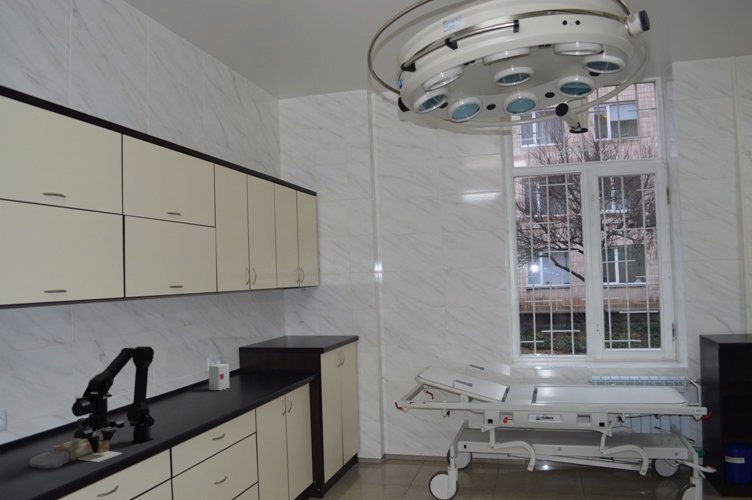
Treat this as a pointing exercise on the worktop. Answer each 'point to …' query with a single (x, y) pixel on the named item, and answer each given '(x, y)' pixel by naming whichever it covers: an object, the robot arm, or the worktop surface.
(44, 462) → the stone block
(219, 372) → the supplement box
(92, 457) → the grey mat
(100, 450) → the walnut block
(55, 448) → the slot box
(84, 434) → the robot arm
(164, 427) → the worktop surface
